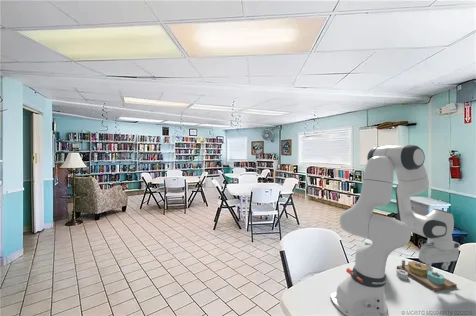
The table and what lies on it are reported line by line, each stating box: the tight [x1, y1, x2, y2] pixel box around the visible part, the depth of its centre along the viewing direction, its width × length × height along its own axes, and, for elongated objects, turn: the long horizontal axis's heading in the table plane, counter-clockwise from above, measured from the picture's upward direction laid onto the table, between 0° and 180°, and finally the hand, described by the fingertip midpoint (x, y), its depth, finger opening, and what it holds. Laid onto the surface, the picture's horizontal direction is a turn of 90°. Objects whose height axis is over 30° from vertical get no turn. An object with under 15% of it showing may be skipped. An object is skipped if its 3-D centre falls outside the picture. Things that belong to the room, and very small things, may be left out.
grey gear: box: [395, 269, 409, 280], centre depth 114 cm, size 4×4×2 cm
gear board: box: [396, 259, 458, 292], centre depth 114 cm, size 14×19×6 cm
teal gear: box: [427, 270, 445, 285], centre depth 109 cm, size 6×6×3 cm
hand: (437, 269), depth 108 cm, fingers open, 8 cm apart
